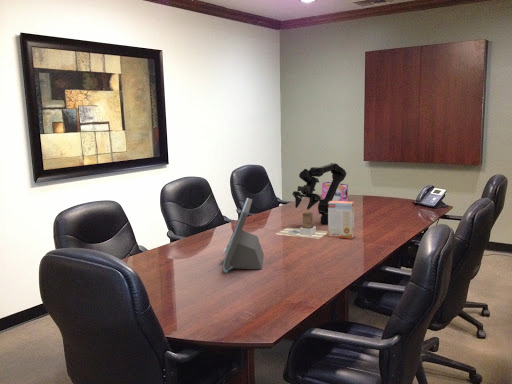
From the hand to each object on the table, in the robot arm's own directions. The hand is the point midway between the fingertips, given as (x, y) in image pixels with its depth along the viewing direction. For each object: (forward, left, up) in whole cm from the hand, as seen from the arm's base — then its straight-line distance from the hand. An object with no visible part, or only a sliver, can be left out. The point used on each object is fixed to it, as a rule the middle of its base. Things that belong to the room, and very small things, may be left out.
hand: (301, 208), depth 295 cm
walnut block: (-4, +10, -13) cm, 17 cm away
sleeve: (-4, +10, -13) cm, 17 cm away
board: (-1, +8, -14) cm, 16 cm away
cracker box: (-23, +15, -14) cm, 31 cm away
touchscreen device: (+27, +64, -14) cm, 70 cm away
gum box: (-23, -104, -14) cm, 108 cm away
